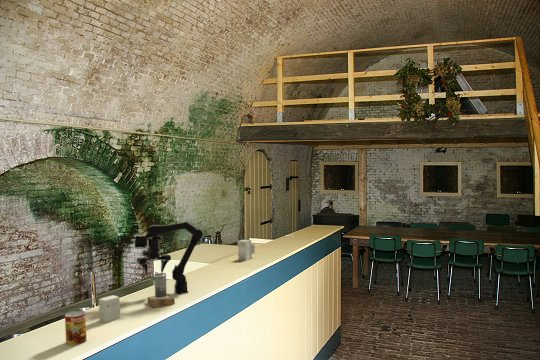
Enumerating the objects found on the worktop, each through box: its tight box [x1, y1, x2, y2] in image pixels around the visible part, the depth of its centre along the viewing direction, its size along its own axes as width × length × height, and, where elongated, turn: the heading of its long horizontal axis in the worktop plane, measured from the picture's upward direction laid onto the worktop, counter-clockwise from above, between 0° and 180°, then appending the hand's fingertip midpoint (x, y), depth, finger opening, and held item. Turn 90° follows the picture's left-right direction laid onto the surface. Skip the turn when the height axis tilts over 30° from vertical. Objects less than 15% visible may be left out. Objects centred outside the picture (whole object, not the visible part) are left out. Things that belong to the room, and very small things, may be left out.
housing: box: [153, 272, 168, 299], centre depth 237 cm, size 7×7×12 cm
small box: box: [98, 294, 121, 323], centre depth 213 cm, size 8×6×10 cm
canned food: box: [64, 310, 88, 347], centre depth 185 cm, size 8×8×12 cm
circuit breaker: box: [237, 239, 256, 262], centre depth 355 cm, size 8×14×15 cm, turn 148°
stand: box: [147, 293, 176, 309], centre depth 237 cm, size 12×12×3 cm
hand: (154, 273), depth 255 cm, fingers open, 9 cm apart
